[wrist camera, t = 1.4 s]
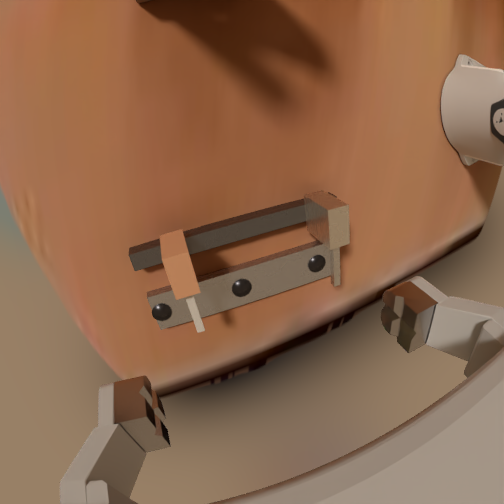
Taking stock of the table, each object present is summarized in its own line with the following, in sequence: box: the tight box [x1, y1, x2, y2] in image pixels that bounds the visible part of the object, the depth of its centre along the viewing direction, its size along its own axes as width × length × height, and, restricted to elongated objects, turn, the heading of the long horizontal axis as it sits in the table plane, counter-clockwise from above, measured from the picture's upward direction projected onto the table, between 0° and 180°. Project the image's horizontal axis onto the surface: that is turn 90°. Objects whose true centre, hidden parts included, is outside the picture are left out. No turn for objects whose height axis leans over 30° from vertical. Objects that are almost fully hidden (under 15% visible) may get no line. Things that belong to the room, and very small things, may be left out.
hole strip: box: [147, 240, 331, 330], centre depth 39 cm, size 24×5×1 cm, turn 100°
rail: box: [129, 190, 350, 287], centre depth 34 cm, size 24×10×7 cm, turn 100°
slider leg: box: [160, 229, 205, 333], centre depth 31 cm, size 2×10×5 cm, turn 10°
